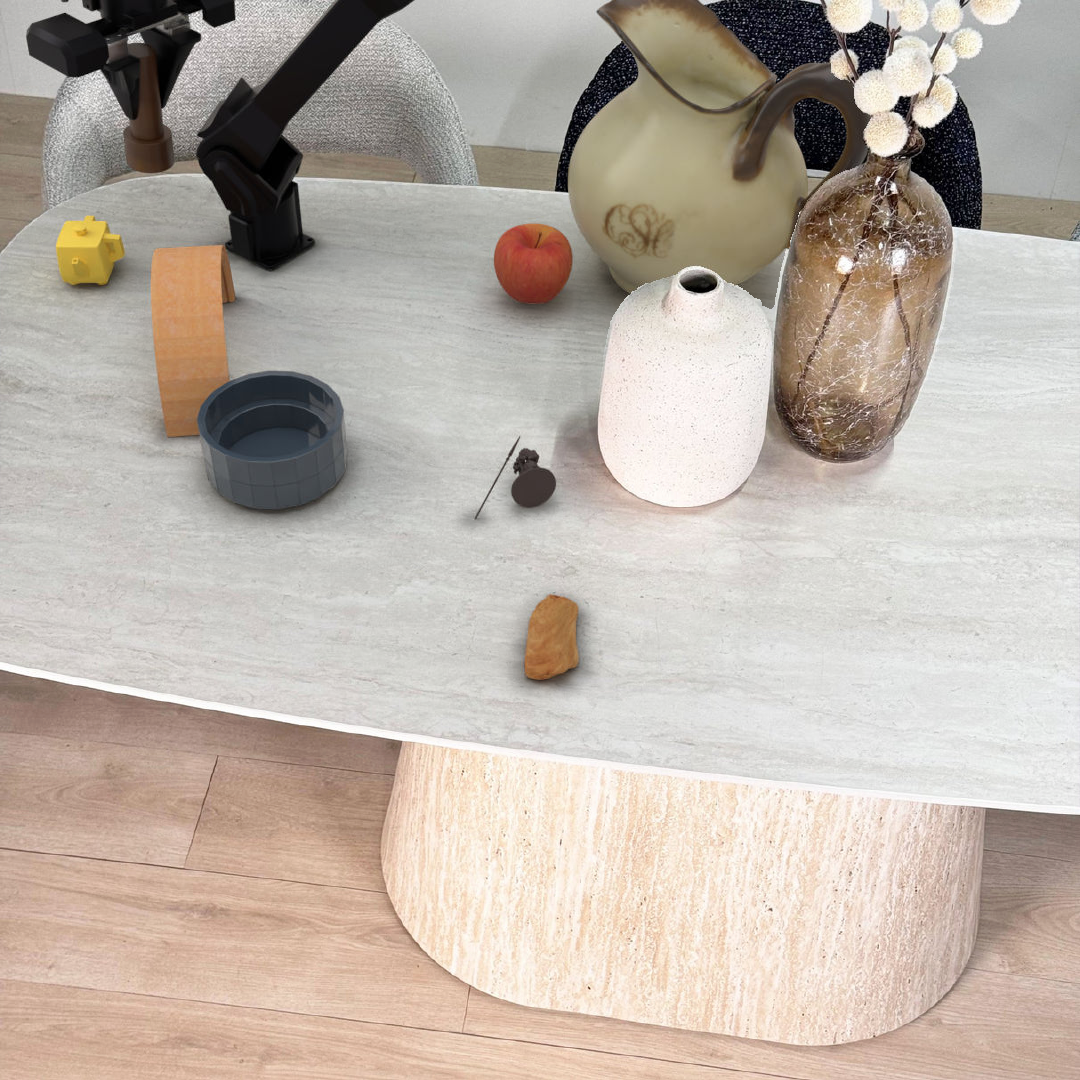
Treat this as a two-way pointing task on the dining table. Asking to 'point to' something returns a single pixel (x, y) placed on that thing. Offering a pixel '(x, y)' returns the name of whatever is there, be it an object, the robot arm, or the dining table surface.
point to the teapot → (87, 251)
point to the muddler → (148, 120)
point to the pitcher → (697, 150)
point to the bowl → (273, 439)
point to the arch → (189, 329)
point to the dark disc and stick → (528, 480)
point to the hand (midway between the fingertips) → (145, 112)
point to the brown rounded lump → (551, 638)
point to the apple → (533, 262)
